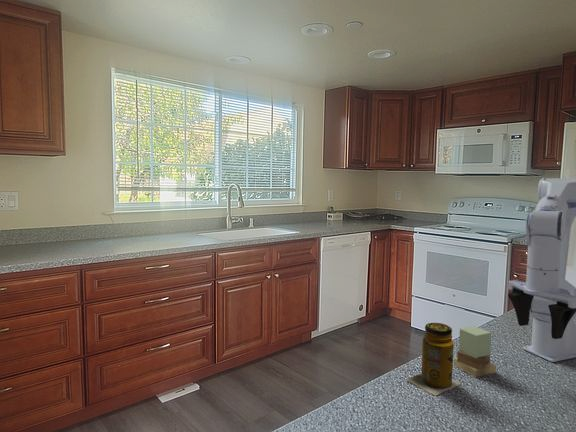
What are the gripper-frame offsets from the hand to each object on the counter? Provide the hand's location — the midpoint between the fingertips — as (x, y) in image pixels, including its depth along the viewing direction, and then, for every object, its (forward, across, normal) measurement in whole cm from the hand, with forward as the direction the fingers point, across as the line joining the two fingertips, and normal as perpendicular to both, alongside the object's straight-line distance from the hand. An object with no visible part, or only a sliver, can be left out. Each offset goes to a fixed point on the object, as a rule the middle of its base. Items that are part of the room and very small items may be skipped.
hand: (539, 331), depth 82 cm
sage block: (+7, -8, -9) cm, 14 cm away
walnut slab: (+9, -8, -9) cm, 15 cm away
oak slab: (+11, -8, -9) cm, 16 cm away
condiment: (+11, -6, -22) cm, 25 cm away
